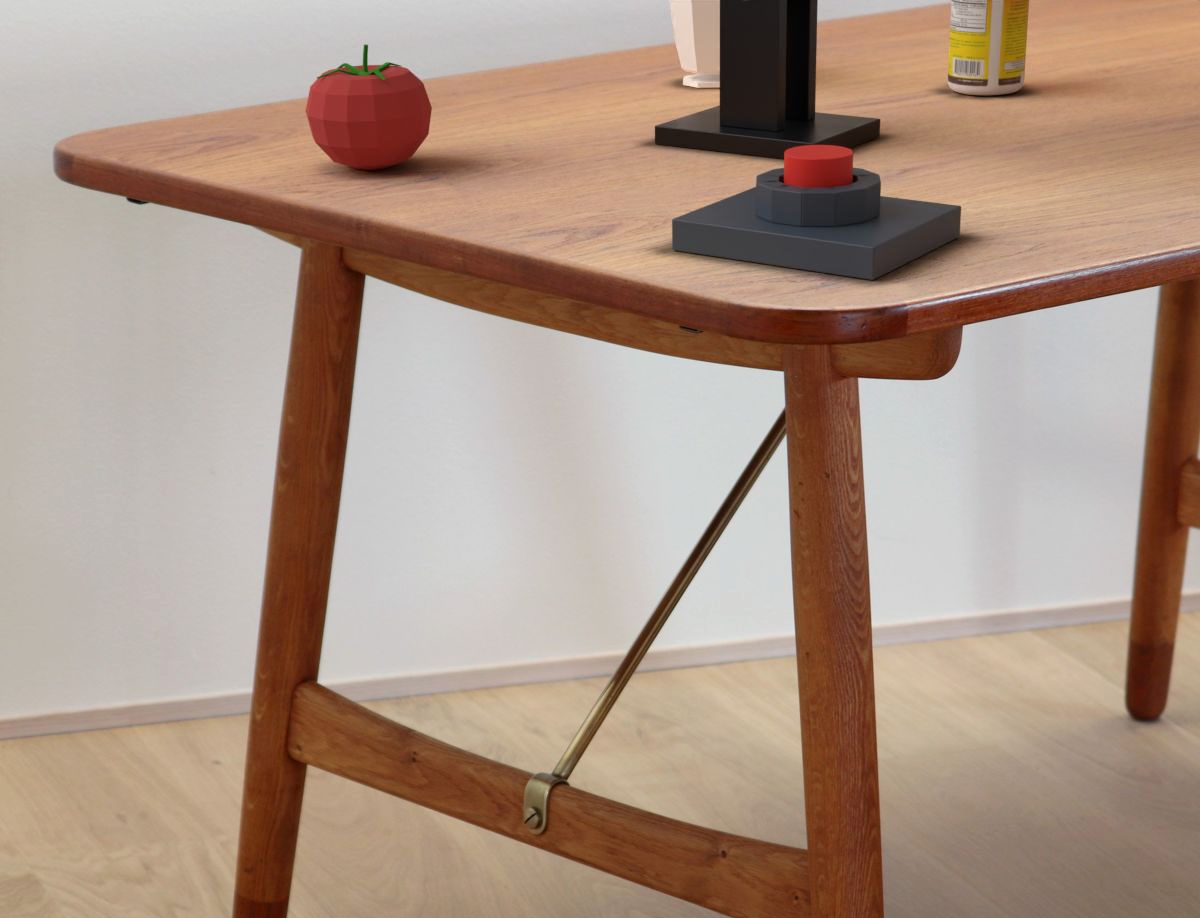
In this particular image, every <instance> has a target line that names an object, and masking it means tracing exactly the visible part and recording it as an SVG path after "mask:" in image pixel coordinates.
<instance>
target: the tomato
mask: <svg viewBox="0 0 1200 918" xmlns="http://www.w3.org/2000/svg"><path fill="white" fill-rule="evenodd" d="M368 53H369V44H367V43H366V44H365V43H364V44H363V49H362V65H351V64H350V63H347V62H343V63H341V64H340V65H338V67H336V68H333V69H329V70H326V71H325V72H322V73H321V74H320V75H319V76H317V77H316V79H315V81H314V82H313V83H312V84H311V85H310V86H309V91H308V96H307V101H306V105H305V106H306V107H305V114H306V118H307V122H308V124H309V128H310V131H311V136H312V139H313V140H314V143H315V144H316V145H317V146H318V147H319V148H320V149H321V150H322V151H323V153H324V154H326V155H327V156H328V157H329V159H330V160H331V161H332V162H333V163H336V164H339V165H343V166H347V167H350V168H354V169H359V170H364V171H376V170H382V169H386V168H389V167H392V166H395V165H398V164H401V163H403V162H405V161H406V162H407V161H408V160H409V159H411V158H412V157H413V156H414V155H415V154H416V152H417V151H418V150H419V148H420V147H421V146H422V144H423V143H424V141H425V140H426V138H427V137H428V136H429V133H430V125H431V117H432V111H433V107H432V104H431V101H430V98H429V95H428V93H427V90H426V87H425V84H424V82H423V81H422V80H421V78H420V77H418V76H417V75H416V74H414V73H413V72H412V71H411V70H410V69H409V68H407V67H403V66H402V65H400V64H397V63H393V62H389V61H388V62H384V63H383V64H368V61H369V59H368V58H369V57H368Z"/></svg>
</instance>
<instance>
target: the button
mask: <svg viewBox="0 0 1200 918" xmlns="http://www.w3.org/2000/svg"><path fill="white" fill-rule="evenodd" d="M783 168H784V184H787V185H792V186H800V187H808V188H809V187H836V186H843V185H849V184H852V180H853V168H854V151H853V150H852V149H851V148H849V149H848V148H845V147H841V146H833V145H805V146H798V147H793V148H790V149H787V150H786V151H785V152H784V159H783Z"/></svg>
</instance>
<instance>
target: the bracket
mask: <svg viewBox="0 0 1200 918" xmlns="http://www.w3.org/2000/svg"><path fill="white" fill-rule="evenodd" d="M818 1H819V0H720V88H719V105H716V106H712V107H709V108H707V109H704V110H701V111H697V112H694V113H691V114H688V115H685V116H682V117H679V118H675V119H672V120H669V121H665V122H663V123H660V124H655V126H654V144H655V145H662V146H669V147H679V148H686V149H695V150H705V151H712V152H713V151H714V152H722V153H731V154H739V155H749V156H755V157H764V158H774V159H782V160H784V152H785V151H786V150H787V149H790V148H793V147H798V146H805V145H833V146H841V147H845V148H848V149H851V148H855V147H856V146H859V145H861V144H865V143H867V142H869V141H872V140H875V139H877V138H880V136H881V119H880V118H877V117H876V118H875V117H866V116H857V115H846V114H839V113H838V114H837V113H829V112H828V113H826V112H819V111H818V112H816V99H817V98H816V97H817V96H816V90H817V50H818V48H817V46H818V45H817V43H818V4H819V3H818Z"/></svg>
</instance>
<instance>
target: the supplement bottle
mask: <svg viewBox="0 0 1200 918" xmlns="http://www.w3.org/2000/svg"><path fill="white" fill-rule="evenodd" d="M1029 9H1030V0H950V21H949V22H950V23H949V42H948V43H949V45H948V64H947V65H948V66H947V84H948V87H949V88H950V90H952V91H953V92H956V93H958V94H963V95H969V96H987V97H988V96H1001V95H1009V94H1013V93H1015V92H1018V91H1020V90H1021V89H1022V87H1023V86H1024V83H1025V75H1026V58H1027V57H1026V56H1027V41H1028V28H1029V27H1028V25H1029V11H1030V10H1029Z"/></svg>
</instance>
